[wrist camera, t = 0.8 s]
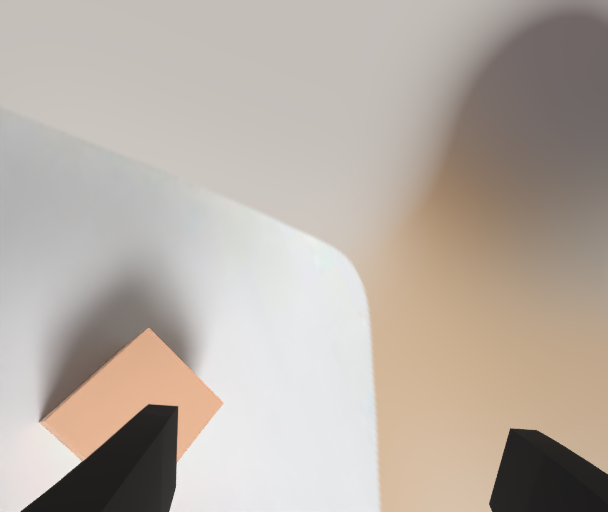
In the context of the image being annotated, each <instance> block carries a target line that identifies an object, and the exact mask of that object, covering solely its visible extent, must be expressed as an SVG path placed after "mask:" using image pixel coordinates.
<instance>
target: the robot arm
mask: <svg viewBox="0 0 608 512" xmlns="http://www.w3.org/2000/svg"><path fill="white" fill-rule="evenodd" d="M177 434H178V406H169V405H154V404H148V405H147V406H146V407H144V408H143V409H142V410H141V411H140V412H138V413H137V414H136V415H135V416H134V417H133V418H132V419H130V420H129V421H128V422H127V423H126V424H125V425H124V426H123V427H121V428H120V429H119V430H118V431H117V432H116V433H115V434H114V435H112V436H111V437H110V438H109V439H108V440H107V441H106V442H104V443H103V444H102V445H101V446H100V447H99V448H98V449H96V450H95V451H94V452H93V453H92V454H91V455H89V456H88V457H87V458H86V459H85V460H83V461H82V462H81V463H80V464H79V465H78V466H76V467H75V468H74V469H73V470H72V471H70V472H69V473H68V474H67V475H66V476H64V477H63V478H62V479H61V480H60V481H59V482H57V483H56V484H55V485H54V486H52V487H51V488H50V489H49V490H47V491H46V492H45V493H44V494H42V495H41V496H40V497H39V498H37V499H36V500H35V501H33V502H32V503H31V504H30V505H28V506H27V507H26V508H24V509H23V510H22V511H21V512H169V510H170V507H171V503H172V499H173V495H174V492H175V488H176V464H177ZM489 505H490V507H491V510H492V512H608V474H606V473H605V472H603V471H602V470H600V469H599V468H597V467H596V466H594V465H593V464H591V463H590V462H588V461H586V460H585V459H583V458H582V457H580V456H579V455H577V454H575V453H574V452H572V451H571V450H569V449H568V448H566V447H565V446H563V445H561V444H560V443H558V442H556V441H555V440H553V439H551V438H550V437H548V436H546V435H544V434H543V433H541V432H539V431H537V430H525V429H510V431H509V435H508V438H507V442H506V446H505V449H504V453H503V456H502V460H501V463H500V467H499V471H498V474H497V478H496V481H495V485H494V489H493V492H492V495H491V499H490V503H489Z"/></svg>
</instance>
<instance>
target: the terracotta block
mask: <svg viewBox="0 0 608 512" xmlns="http://www.w3.org/2000/svg"><path fill="white" fill-rule="evenodd" d="M148 404H154V405H169V406H178V434H177V462H178V460H179V459H180V458H181V457H182V455H183V454H184V453H185V451H186V450H187V449H188V448H189V446H190V445H191V444H192V443H193V441H194V440H195V439H196V438H197V436H198V435H199V434H200V432H201V431H202V430H203V429H204V427H205V426H206V425H207V424H208V422H209V421H210V420H211V418H212V417H213V416H214V415H215V413H216V412H217V411H218V410H219V408H220V407H221V406H222V404H223V402H222V401H221V400H220V399H219V398H218V397H217V396H216V395H215V394H214V393H213V392H212V391H211V390H210V389H209V388H208V387H207V386H206V385H205V384H204V383H203V382H202V381H201V380H200V379H199V378H198V377H197V376H196V375H195V374H194V373H193V372H192V370H191V369H190V368H189V367H188V366H187V365H186V364H185V363H184V362H183V361H182V360H181V359H180V358H179V357H178V356H177V355H176V354H175V353H174V352H173V351H172V350H171V349H170V348H169V347H168V346H167V345H166V344H165V343H164V342H163V341H162V340H161V339H160V338H159V337H158V336H157V335H156V334H155V333H154V332H153V331H152V330H151V329H150V328H147V329H146V330H145V331H143V332H142V333H141V334H140V335H138V336H137V337H136V338H134V339H133V340H132V341H130V342H129V343H128V344H127V345H125V346H124V347H123V348H122V349H121V350H120V351H119V352H117V353H116V354H115V355H114V356H113V357H112V358H111V359H110V360H108V361H107V362H106V363H105V364H104V365H103V366H102V367H101V368H99V369H98V370H97V371H96V372H95V373H94V374H93V375H92V376H91V377H89V378H88V379H87V380H86V381H85V382H84V383H83V384H82V385H80V386H79V387H78V388H77V389H76V390H75V391H74V392H73V393H71V394H70V395H69V396H68V397H67V398H66V399H65V400H64V401H62V402H61V403H60V404H59V405H58V406H57V407H56V408H55V409H53V410H52V411H51V412H50V413H49V414H48V415H47V416H46V417H44V418H43V419H42V420H41V421H40V422H39V423H40V424H41V425H43V426H44V427H45V428H46V429H47V430H48V431H49V432H50V433H51V434H52V435H54V436H55V437H56V438H57V439H58V440H59V441H60V442H61V443H62V444H64V445H65V446H66V447H67V448H68V449H69V450H70V451H71V452H72V453H74V454H75V455H76V456H77V457H78V458H79V459H80V460H81V461H83V460H85V459H86V458H87V457H88V456H89V455H91V454H92V453H93V452H94V451H95V450H96V449H98V448H99V447H100V446H101V445H102V444H103V443H104V442H106V441H107V440H108V439H109V438H110V437H111V436H112V435H114V434H115V433H116V432H117V431H118V430H119V429H120V428H121V427H123V426H124V425H125V424H126V423H127V422H128V421H129V420H130V419H132V418H133V417H134V416H135V415H136V414H137V413H138V412H140V411H141V410H142V409H143V408H144V407H146V406H147V405H148Z"/></svg>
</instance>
